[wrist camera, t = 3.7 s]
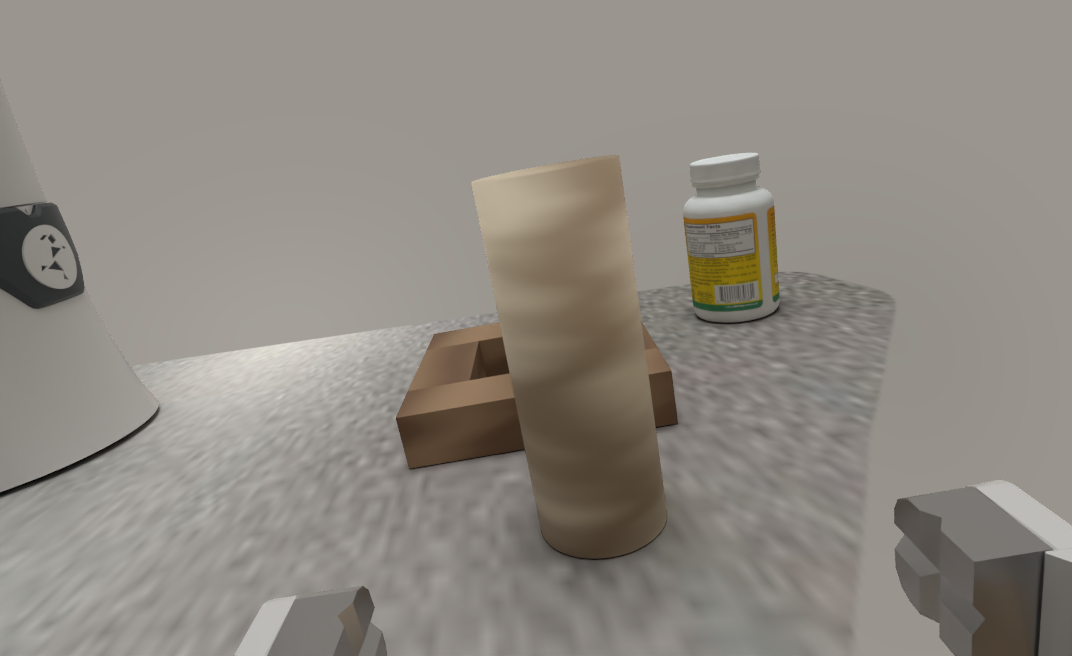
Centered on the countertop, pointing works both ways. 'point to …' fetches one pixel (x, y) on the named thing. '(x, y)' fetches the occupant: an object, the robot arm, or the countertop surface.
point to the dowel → (575, 352)
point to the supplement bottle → (731, 240)
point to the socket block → (484, 398)
